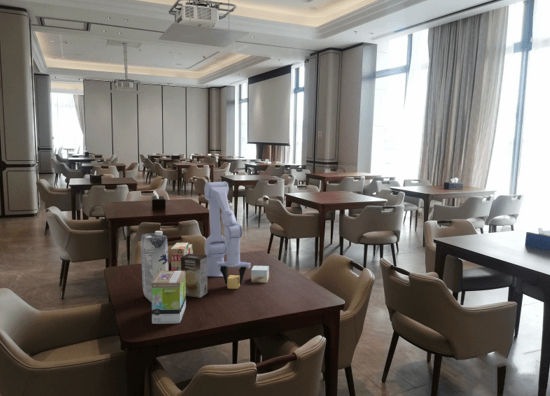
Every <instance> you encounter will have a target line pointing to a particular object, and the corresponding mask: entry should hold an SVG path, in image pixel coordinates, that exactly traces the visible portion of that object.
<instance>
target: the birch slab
mask: <svg viewBox="0 0 550 396" xmlns="http://www.w3.org/2000/svg"><path fill="white" fill-rule="evenodd" d="M269 279H270V272H269V273H268V276H267V277H251V283H268V282H269Z"/></svg>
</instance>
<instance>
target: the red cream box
mask: <svg viewBox="0 0 550 396" xmlns="http://www.w3.org/2000/svg"><path fill="white" fill-rule="evenodd" d="M188 253H189V254H194V251H193V243H191V244H190V243H189V242H176V243H175V244H174V245H173V246H172V247H171V248H170V263H171V264H170V265H171V266H170V267H171V268H170V269H171V270H170V271H181V257H182V256H184V255H186V254H188Z"/></svg>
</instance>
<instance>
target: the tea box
mask: <svg viewBox="0 0 550 396" xmlns="http://www.w3.org/2000/svg"><path fill="white" fill-rule="evenodd" d="M186 307H187V296H186V279H185V271H171V270H169V271H159V273H158V274H157V276H156V277H155V279H154V280H153V282H152V302H151V324H153V325H154V324H156V325H162V324H163V325H165V324H180V323H181V321H182V319H183V316H184V314H185V310H186Z"/></svg>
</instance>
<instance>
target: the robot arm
mask: <svg viewBox="0 0 550 396" xmlns="http://www.w3.org/2000/svg"><path fill="white" fill-rule="evenodd" d="M229 188H230V187H229V183H227V181H213V182H211V181H210V182H208V181H206V183H205V184H204V187H203V189H204V199H205V200H206V201H208V202H207V203H208V212H209V213H208V215H209V217H208V218H209V229H210V231H209V232H210V235H209V236H208V237H207V238H206V239H205V241H204V248H203V249H204V254H205V255H206V256H207V277H223V279H224V283H225V285H227V278H228V277H229V275H228V274H229V268H238V272H239V276H240V282H239V283H240V286H241V285H242V284H243V279H244V276H245V273H246V270H247V269H251V262H246V261H241V238H242V236H243V228H242V225H241V224H240V223H239V222H238V221H237V218H236V216H235V212H234V211H233V210H231V208H230V204H229V200H228V199H229V198H228V195H229V190H230V189H229ZM220 210H221V213H220ZM221 221H222V224H223V226H224V230H223V234H224V236H223V235H222V232H221ZM225 256H226V260H225Z"/></svg>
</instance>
